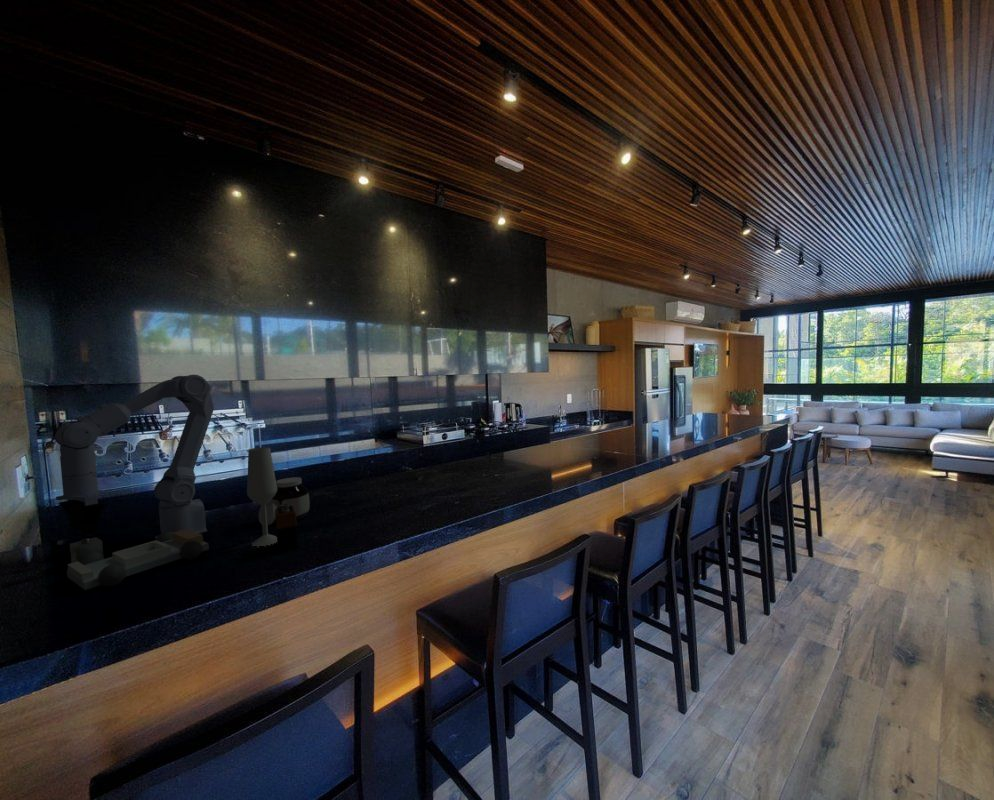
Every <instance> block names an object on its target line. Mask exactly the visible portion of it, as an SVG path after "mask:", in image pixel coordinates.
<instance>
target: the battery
mask: <svg viewBox="0 0 994 800" xmlns="http://www.w3.org/2000/svg"><path fill="white" fill-rule="evenodd" d="M275 517H276V520H275V529H276V537H277V543H276V544H277V551H278V553H280V552H286V551H291V550H295V548H296V549H297V548H298V547H299V539H298V538H299V537H298V523H297V521H298V520H296V511H295V507H294V506H289V504H287V503H286V504H282V505H280V508H276V509H275Z"/></svg>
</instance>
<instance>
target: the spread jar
mask: <svg viewBox="0 0 994 800" xmlns="http://www.w3.org/2000/svg"><path fill="white" fill-rule="evenodd" d="M276 484H277V492H276V494H275V496H274V497H273V498H272V499H271V500H270V501H269V502H268V503H267V504H266V512H267V526H270V525H272V524H273V523H274V522H275V521H276V517H275V509H276V508H280V505H282V504H286V503H287V504H289V506H294V507H295V511H296V521H299V520H301V519H303V518H304V517H305V516H307V514H308V512H309V511H310V508H311V507H310V506H311V505H310V493H309V490H308V488H307V487H306V486H304V485H303V484H302V478H301V477H299V476H298V477H297V476H296V477H295V476H294V477H286V478H281V479H278V480H276ZM258 511H259V512H258V521H259V524H261V525H262V516H261V507H260V508H259V510H258Z"/></svg>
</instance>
